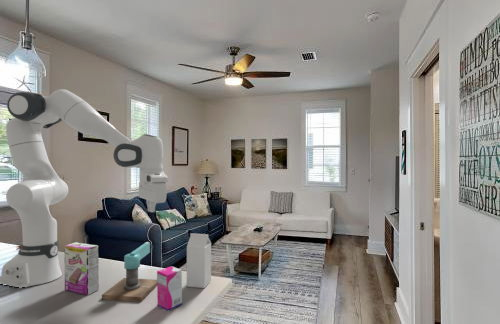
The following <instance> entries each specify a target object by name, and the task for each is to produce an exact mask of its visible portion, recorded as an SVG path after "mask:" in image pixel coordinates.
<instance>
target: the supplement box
mask: <svg viewBox="0 0 500 324" xmlns="http://www.w3.org/2000/svg"><path fill="white" fill-rule="evenodd" d="M182 274H183V273H182V269H181V268H177V267H175V266H168V267H165V268H162V269H159V270H157V271H156V280H157V286H156V287H157V291H156V292H157V293H156V295H157V296H156V297H157V306H158V307H160V308H162V309H163V310H165V311H167V312H169V311H171V310H173V309H176V308H178V307H179V306H181V305H183V288H182V287H183V286H182V285H183V283H182V276H183V275H182Z"/></svg>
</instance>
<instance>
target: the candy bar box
mask: <svg viewBox="0 0 500 324" xmlns="http://www.w3.org/2000/svg"><path fill="white" fill-rule="evenodd" d="M63 246H64V292H69V293H73V294H74V293H75V294H81V295H84V296H90V295H92V294H93V293H96V292H97V291H99V245H97V244H90V243H84V242H83V243H82V242H78V241H76V242H72V243H69V244H66V245H63Z"/></svg>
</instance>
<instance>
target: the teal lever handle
mask: <svg viewBox="0 0 500 324" xmlns="http://www.w3.org/2000/svg"><path fill="white" fill-rule="evenodd" d="M149 253H151V242H149V241H146V242H144V243H143V244H142V245H140V246H139V247H137V248H136V249H134V250H132V251H131V252H130V253H127V254H125V255H124V256H123V257H124V258H123V260H124V261H123V262H124V263H123V264H124V265H123V266H124V269H125V270H126V269H136V268H138V269H139V268H140V266H141V260H142V259H143V258H145V257H146V256H147V255H148V254H149Z"/></svg>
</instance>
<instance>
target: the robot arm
mask: <svg viewBox="0 0 500 324" xmlns="http://www.w3.org/2000/svg"><path fill="white" fill-rule="evenodd" d="M6 107H7V111H8V112H9V114H10V115H11V116H12V117H13V118H11V119H9V120H8V121H7V122H6V124H5V125H6V127H5V128H6V130H5V131H6V133H5V134H6V140H7V145H8V148H9V149H8V150H9V152H10V156H11V158H12V159H11V160H12V163H13V166H14V168H15V169H16V170H17V171H19V172H20V173H21V174H22V175H23V176H24V177H25V179H26V180H23V181H20V182H18V183H15V184H12V186H10V187H9V188H8V189H7V191H6V195H5V199H6V203H7V205H9V207H10V208H12V209H13V210H14V211H15V212H17V214H18V217H19V219H20V222H21V227H22V228H21V231H22V243H21V244H20V245H17V246H16V249H15V250H18V253H17V254H16V255H15V256H13V257H12V258H11V259H9V260H8V261H7V262H6V263H4V264H3V266H2V268H1V273H0V283H1V284H6V285H10V286H15V287H19V288H18V289H23V288H22V287H25V288H28V287H31V286H37V285H38V286H39V285H42V284H47V283H50V282H52V281H55V280H57V279H59V278H60V277H61V276H62V275H63V272H62V270H61V266H60V260H59V253H58V252H59V240H58V222H57V219H56V218H54V217H53V216H52V214H51V212H50V206H52V205H55V204H57V203H60V202H62V201H63V200H64V199H66V197H67V196H68V194H69V186H68V184H67V183H66V182H65V180H63V179H61V177H60V176H59V175H58V174H57V172H56V171H55V169H54V168H53V166H52V163H51V162H50V159H49V157H48V153H47V150H46V146H45V142H44V140H43V135H42V131H43V129H49V128H51V127H53V126H54V125H57V124H59V123H61V122H62V121H63V122H64V123H65V124H66V125H67V126H69V127H71V129H73V130H75V131H77V132H79V133H81V134H83V135H88V136H91V137H95V138H98V139H99V138H100V139H101V140H104V141H106V142H107V143H108V144H110V145H112V146H113V147H114V151H113V160H114V162H115V163H116V164H117V165H118V166H119V167H122V168H126V169H127V168H128V169H129V168H130V169H131V168H139V182H138V197H139V198H140V199H144V200H146V206H147V212H149V213H155V212H156V205H157V204H163V203H166V200H167V192H168V185H167V182H169V177H168V175H167V174H166V173H165V172H164V166H163V161H164V143H163V140H162V139H161V138H160V137H159V136H157V135H156V136H155V135H151V134H146V133H144V134H142V135H140V136H139V137H138V138H136V139H134V140H132V139H130V138H129V136H126V135H125V134H124V133H123V132H121V131H120V130H118V129H117V128H116V127H115V126H114V125H112V124H111V123H110V122H109V121H108V120H107V119H105V118H104V116H102V115H101V113H100V112H98V111H97V110H96V109H95V108H94V107H93V106H91V105H90V103H88V102H87V101H86V100H84V99H83V98H81V97H80V96H78V95H77V94H75V93H74V92H71V91H70V90H69V89H65V88H64V89H63V88H60V89H57V90H55V91H53V92H52V93H51V94H50V95H49V96H45V95H44V94H40V93H35V92H31V91H30V92H29V91H19V92H15V93H13V94H12V95H10V96H9V98H8V100H7V104H6Z"/></svg>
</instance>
